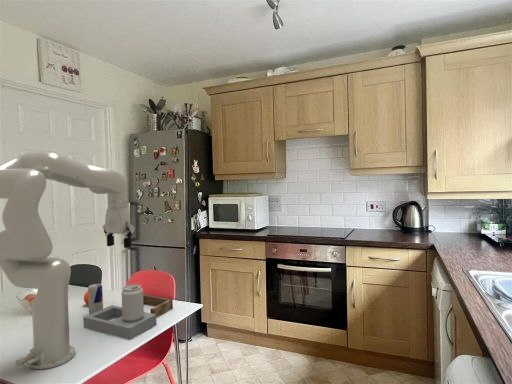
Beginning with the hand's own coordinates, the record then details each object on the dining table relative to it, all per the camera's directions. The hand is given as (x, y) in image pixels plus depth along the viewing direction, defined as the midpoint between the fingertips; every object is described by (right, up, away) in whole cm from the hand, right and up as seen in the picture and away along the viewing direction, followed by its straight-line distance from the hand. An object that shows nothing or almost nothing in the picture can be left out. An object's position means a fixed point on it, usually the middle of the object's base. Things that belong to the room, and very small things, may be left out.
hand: (118, 246), depth 136 cm
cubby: (+11, -28, +4) cm, 30 cm away
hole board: (+5, -29, -11) cm, 31 cm away
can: (+11, -25, -13) cm, 30 cm away
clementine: (-17, -29, +13) cm, 36 cm away
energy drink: (-10, -29, +2) cm, 30 cm away
